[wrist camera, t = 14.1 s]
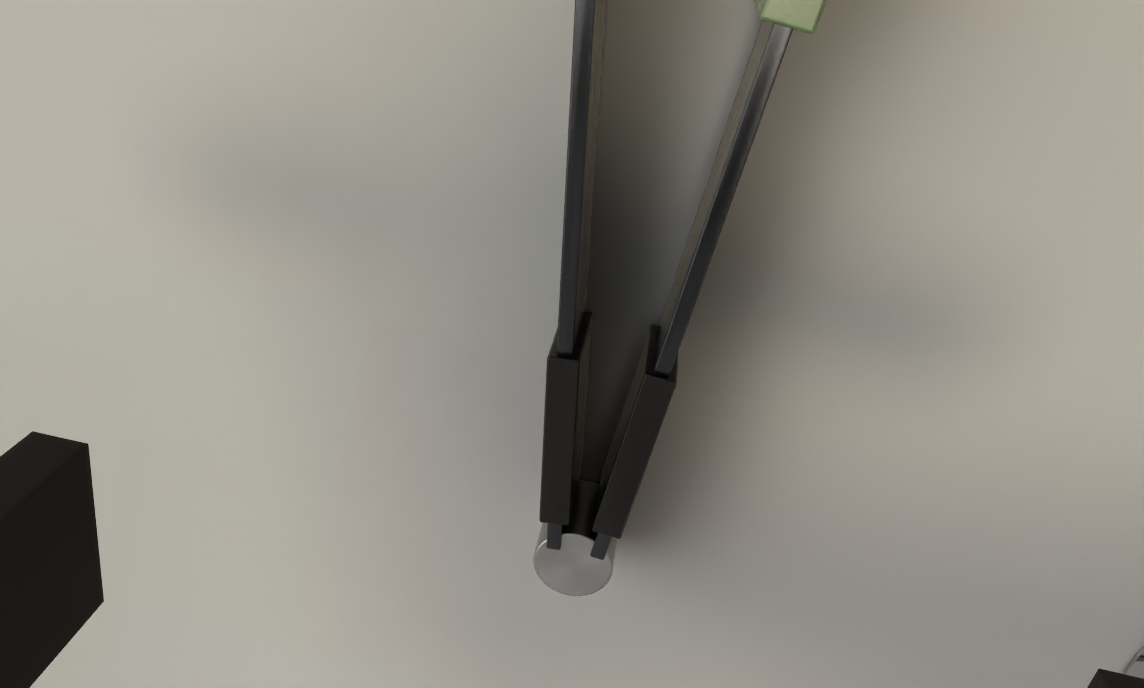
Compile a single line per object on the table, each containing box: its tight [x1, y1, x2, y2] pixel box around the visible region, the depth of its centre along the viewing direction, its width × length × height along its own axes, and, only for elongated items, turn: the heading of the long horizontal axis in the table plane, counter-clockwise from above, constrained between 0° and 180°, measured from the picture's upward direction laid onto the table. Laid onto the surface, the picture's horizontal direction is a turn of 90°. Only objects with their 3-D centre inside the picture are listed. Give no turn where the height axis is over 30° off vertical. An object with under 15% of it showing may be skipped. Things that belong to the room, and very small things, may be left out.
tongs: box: [534, 0, 826, 596], centre depth 22 cm, size 19×6×3 cm, turn 171°
